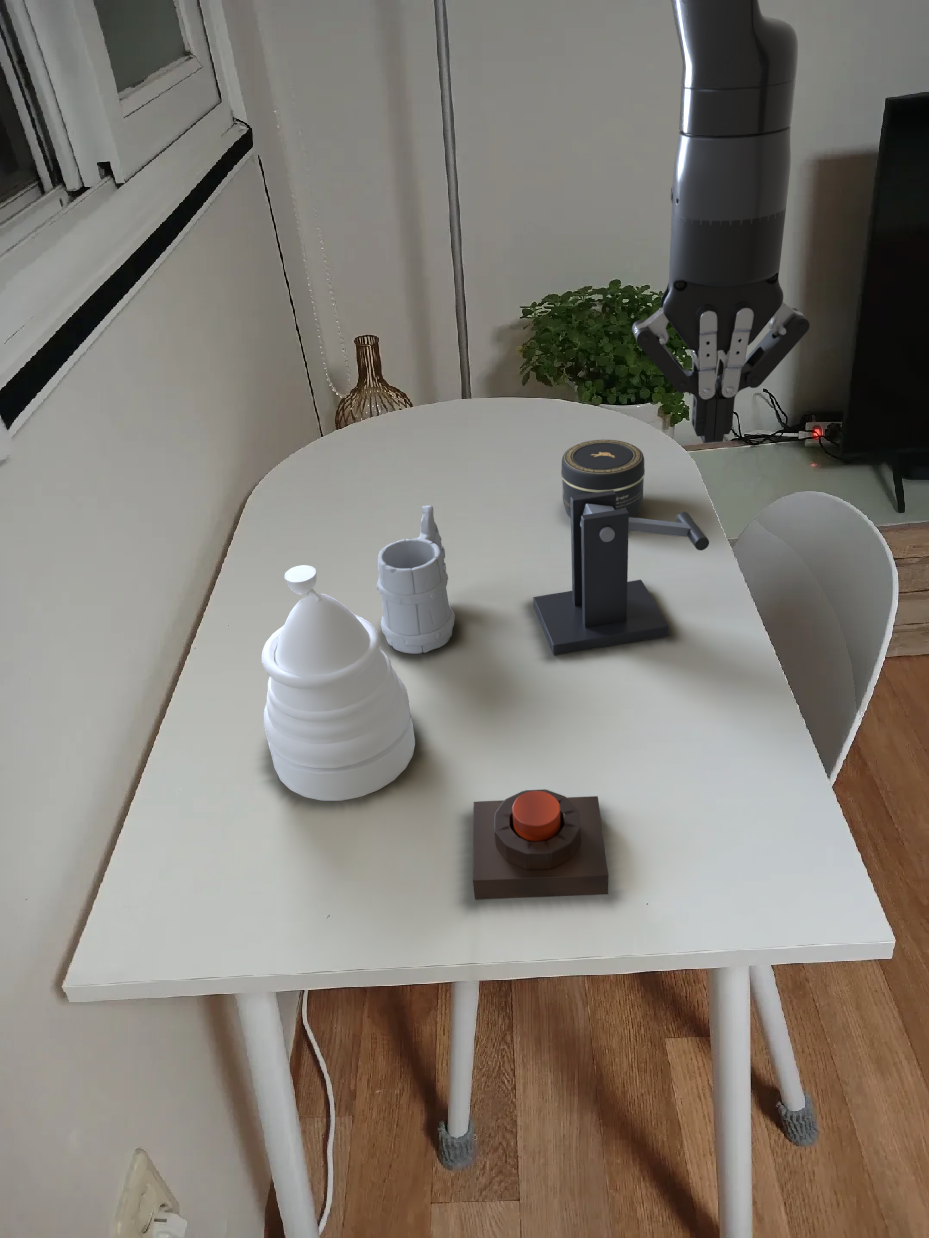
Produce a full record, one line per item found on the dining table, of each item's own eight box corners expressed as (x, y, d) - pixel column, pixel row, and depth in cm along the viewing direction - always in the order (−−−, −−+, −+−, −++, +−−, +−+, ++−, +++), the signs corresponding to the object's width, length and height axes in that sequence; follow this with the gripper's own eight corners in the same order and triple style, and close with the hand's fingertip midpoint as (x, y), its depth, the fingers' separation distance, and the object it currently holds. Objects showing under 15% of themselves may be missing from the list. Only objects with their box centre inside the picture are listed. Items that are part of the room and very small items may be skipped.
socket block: (597, 814, 78) (597, 779, 75) (608, 894, 71) (608, 858, 69) (475, 820, 78) (471, 785, 76) (474, 899, 72) (470, 864, 69)
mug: (371, 651, 98) (354, 551, 92) (412, 589, 108) (399, 494, 101) (441, 660, 96) (429, 559, 89) (476, 596, 105) (468, 500, 98)
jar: (556, 497, 122) (554, 443, 118) (632, 488, 123) (634, 433, 118) (570, 536, 114) (569, 479, 110) (652, 526, 114) (654, 469, 110)
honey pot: (252, 740, 89) (206, 578, 78) (373, 685, 94) (345, 526, 83) (311, 823, 79) (268, 652, 69) (441, 757, 85) (420, 589, 74)
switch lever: (685, 528, 98) (692, 508, 97) (705, 555, 94) (713, 534, 92) (575, 517, 95) (581, 495, 94) (589, 544, 91) (596, 521, 89)
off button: (559, 805, 74) (558, 789, 73) (562, 840, 71) (561, 824, 70) (512, 807, 74) (511, 791, 73) (514, 842, 71) (512, 826, 70)
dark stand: (640, 589, 104) (644, 475, 96) (668, 636, 96) (675, 517, 89) (533, 606, 103) (527, 492, 95) (553, 655, 95) (549, 536, 87)
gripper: (638, 223, 62) (632, 466, 72) (845, 206, 61) (810, 453, 71) (622, 198, 68) (619, 425, 78) (811, 182, 67) (783, 413, 77)
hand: (711, 438), depth 74 cm, fingers closed
